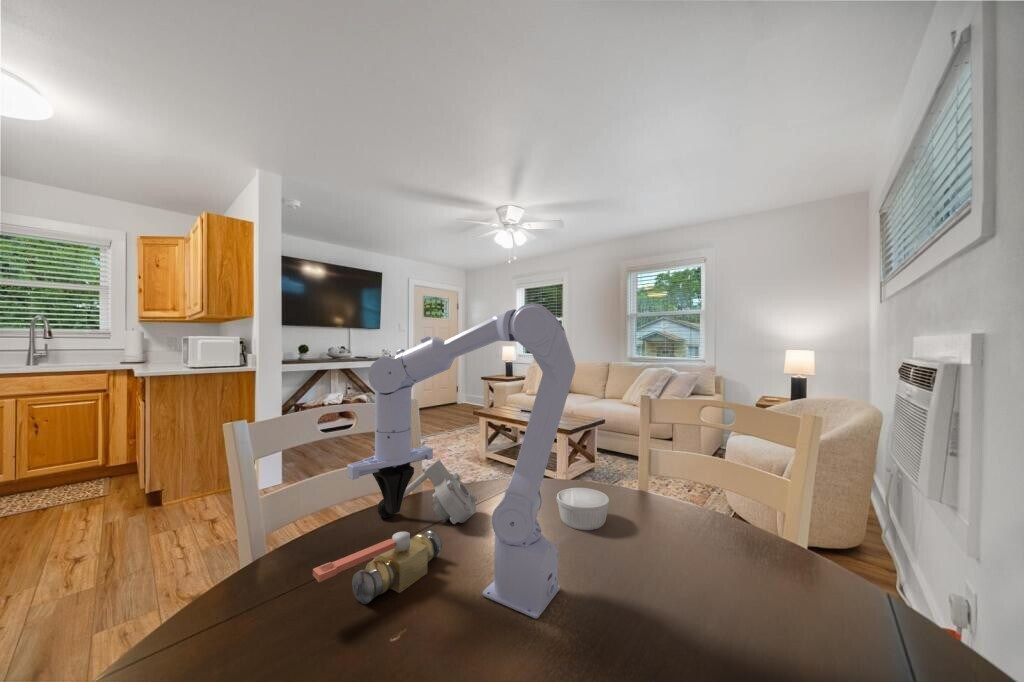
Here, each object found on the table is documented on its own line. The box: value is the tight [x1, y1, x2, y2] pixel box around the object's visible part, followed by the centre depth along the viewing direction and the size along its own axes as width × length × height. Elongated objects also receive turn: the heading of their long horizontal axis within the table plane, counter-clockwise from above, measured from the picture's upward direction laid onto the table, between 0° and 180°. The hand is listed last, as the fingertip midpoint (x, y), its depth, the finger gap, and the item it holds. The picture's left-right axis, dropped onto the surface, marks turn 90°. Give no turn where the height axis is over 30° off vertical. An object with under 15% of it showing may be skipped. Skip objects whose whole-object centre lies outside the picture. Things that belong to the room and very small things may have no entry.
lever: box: [312, 531, 411, 583], centre depth 58 cm, size 15×3×2 cm, turn 138°
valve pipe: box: [351, 529, 443, 605], centre depth 62 cm, size 15×6×5 cm, turn 149°
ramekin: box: [556, 487, 610, 531], centre depth 83 cm, size 11×11×5 cm
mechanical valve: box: [376, 459, 478, 525], centre depth 83 cm, size 10×18×15 cm
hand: (392, 511), depth 63 cm, fingers closed
